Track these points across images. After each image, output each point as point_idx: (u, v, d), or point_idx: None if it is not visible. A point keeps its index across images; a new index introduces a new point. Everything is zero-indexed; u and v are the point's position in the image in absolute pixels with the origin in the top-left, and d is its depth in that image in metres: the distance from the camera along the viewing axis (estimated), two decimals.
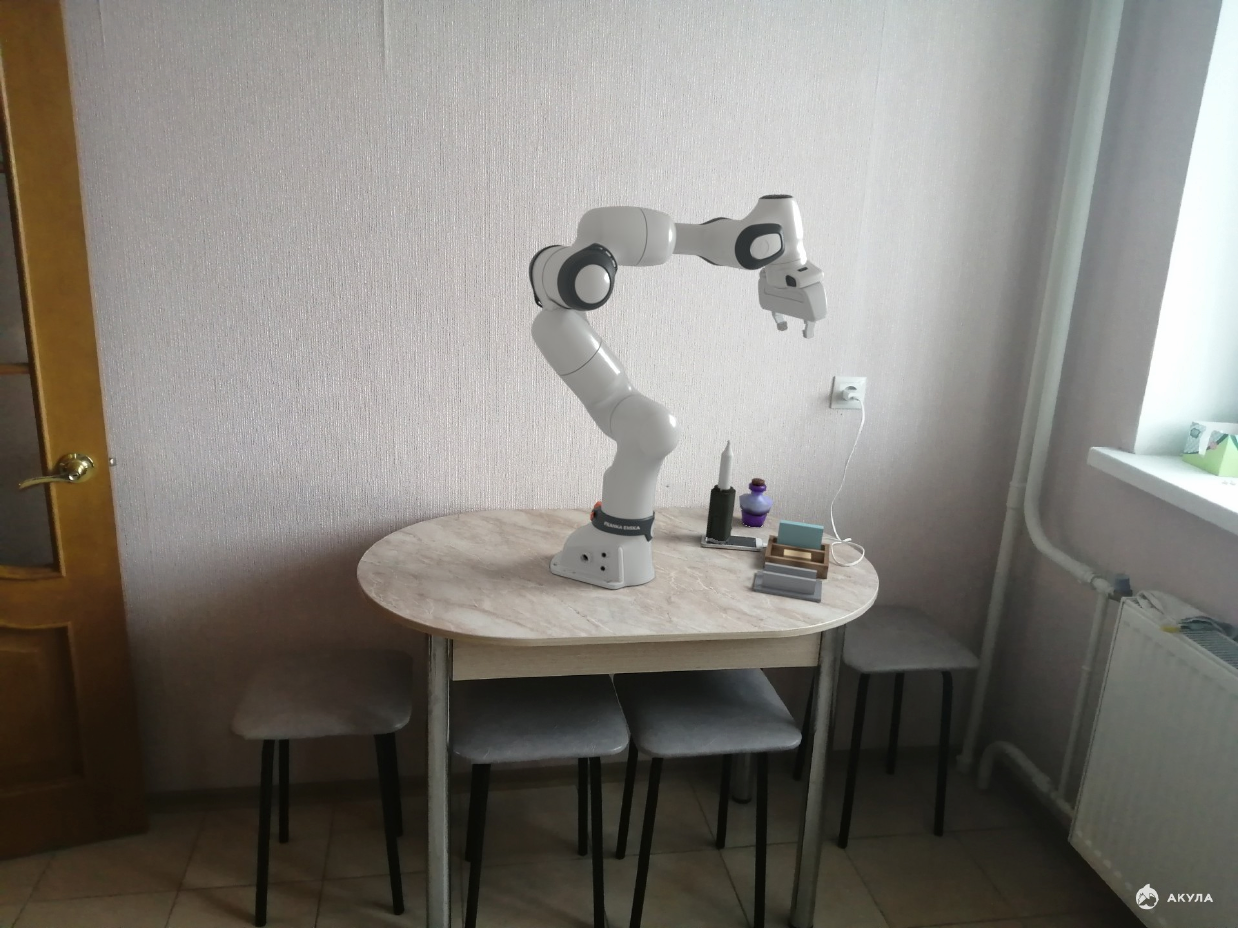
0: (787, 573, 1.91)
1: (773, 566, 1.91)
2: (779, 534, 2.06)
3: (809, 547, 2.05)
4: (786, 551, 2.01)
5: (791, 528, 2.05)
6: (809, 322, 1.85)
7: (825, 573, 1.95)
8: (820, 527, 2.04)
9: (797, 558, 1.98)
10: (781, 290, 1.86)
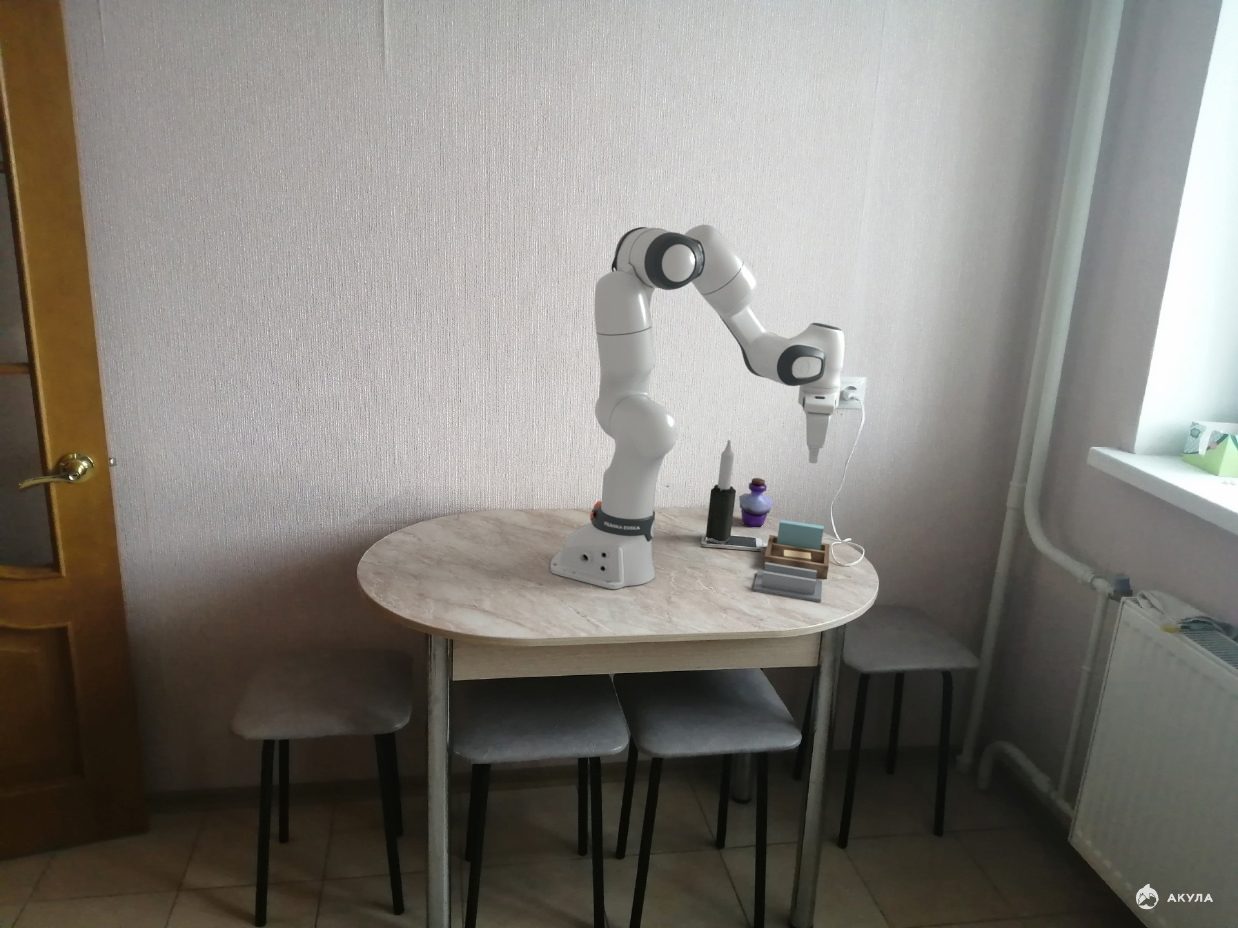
0: (787, 573, 1.91)
1: (773, 566, 1.91)
2: (779, 534, 2.06)
3: (809, 547, 2.05)
4: (786, 551, 2.01)
5: (791, 528, 2.05)
6: (812, 447, 1.93)
7: (825, 573, 1.95)
8: (820, 527, 2.04)
9: (797, 558, 1.98)
10: None
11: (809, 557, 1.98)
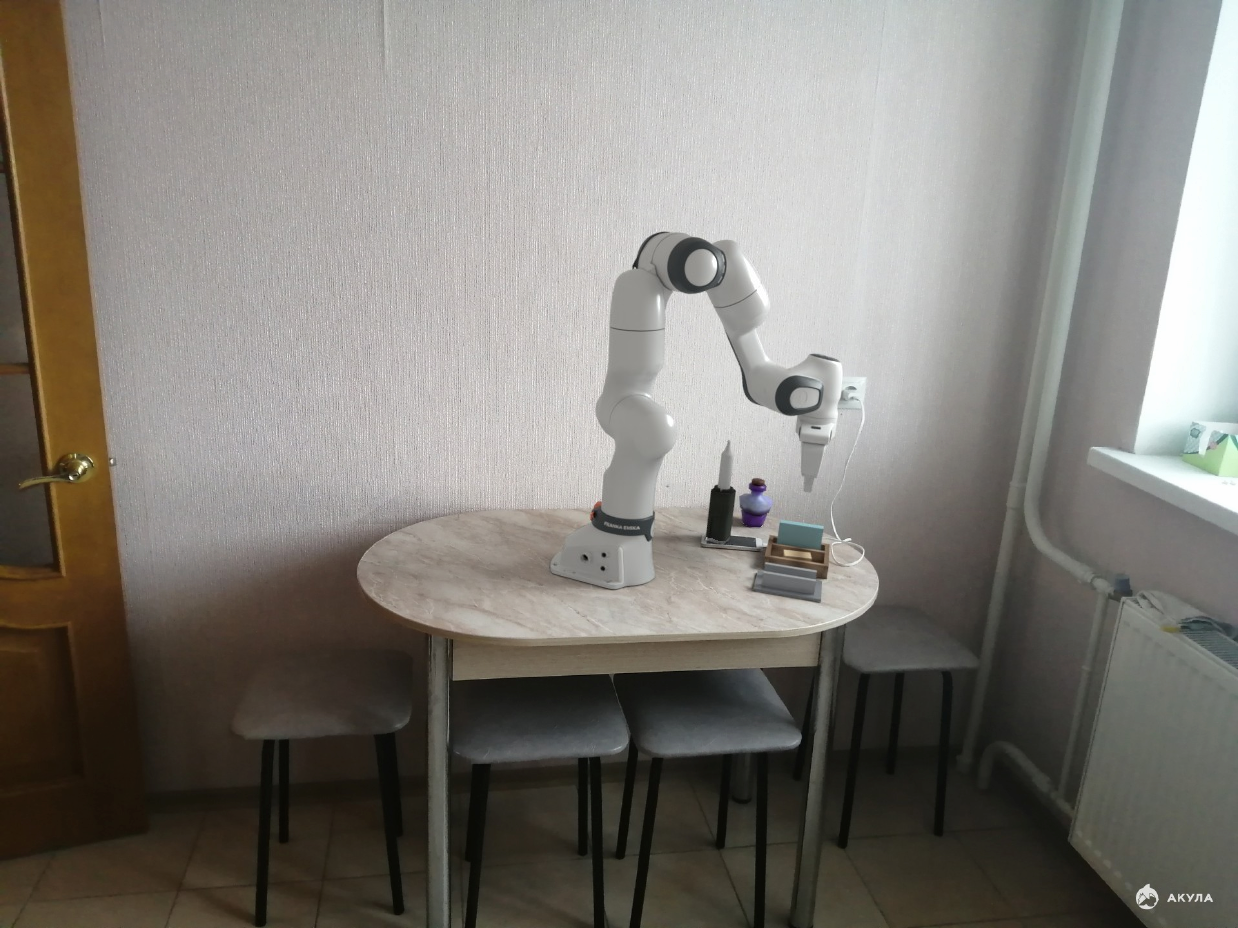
0: (787, 573, 1.91)
1: (773, 566, 1.91)
2: (779, 534, 2.06)
3: (809, 547, 2.05)
4: (786, 551, 2.01)
5: (791, 528, 2.05)
6: (806, 476, 1.95)
7: (825, 573, 1.95)
8: (820, 527, 2.04)
9: (798, 558, 1.98)
10: None
11: (809, 557, 1.99)
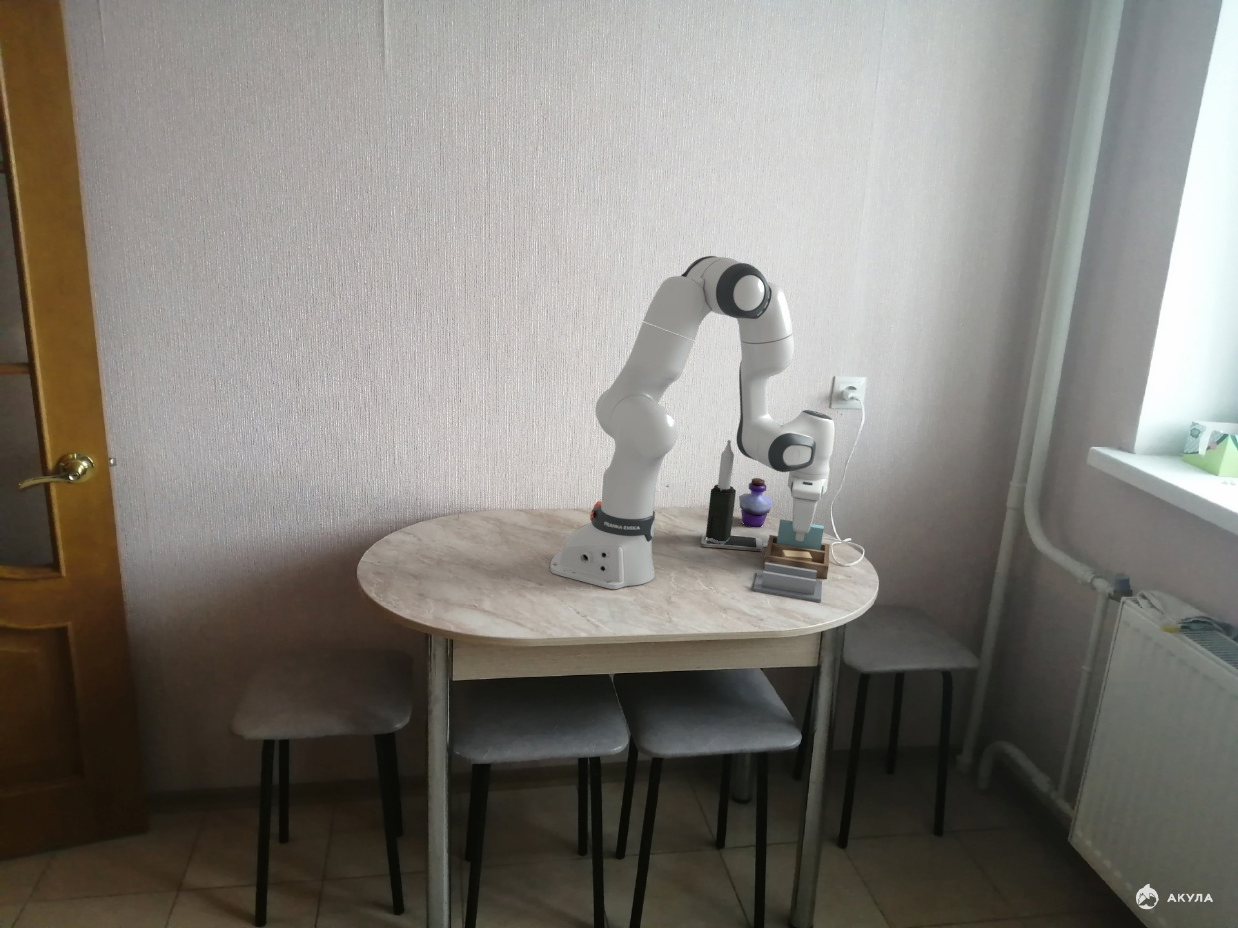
0: (787, 573, 1.91)
1: (773, 566, 1.91)
2: (779, 534, 2.06)
3: (809, 547, 2.05)
4: (785, 552, 2.00)
5: (791, 528, 2.05)
6: None
7: (825, 573, 1.95)
8: (820, 527, 2.04)
9: (798, 558, 1.98)
10: None
11: (809, 556, 1.99)
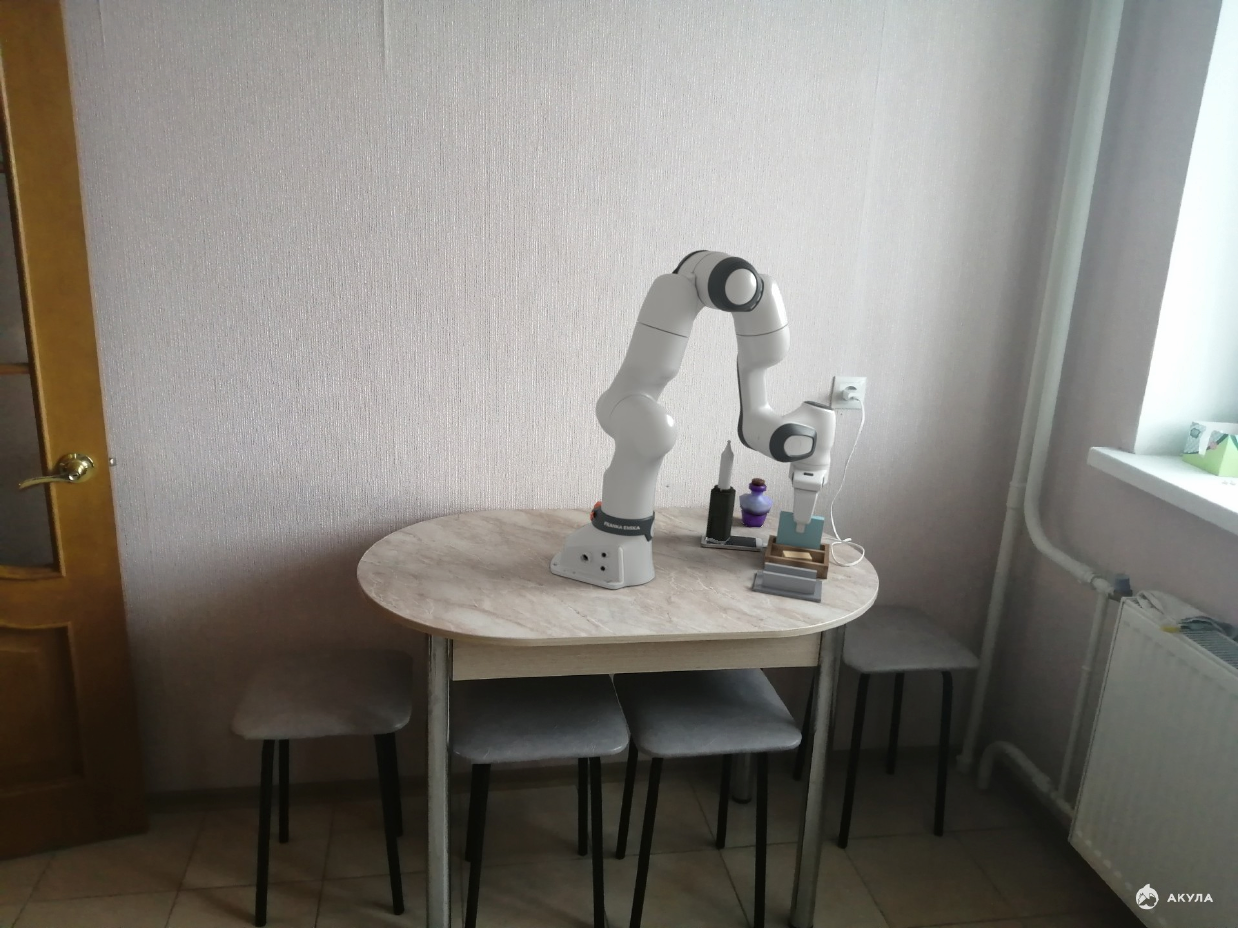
0: (787, 573, 1.91)
1: (773, 566, 1.91)
2: (780, 525, 2.05)
3: (809, 538, 2.04)
4: (785, 552, 2.00)
5: (792, 519, 2.04)
6: None
7: (825, 573, 1.95)
8: (821, 518, 2.03)
9: (798, 559, 1.98)
10: None
11: (809, 557, 1.99)
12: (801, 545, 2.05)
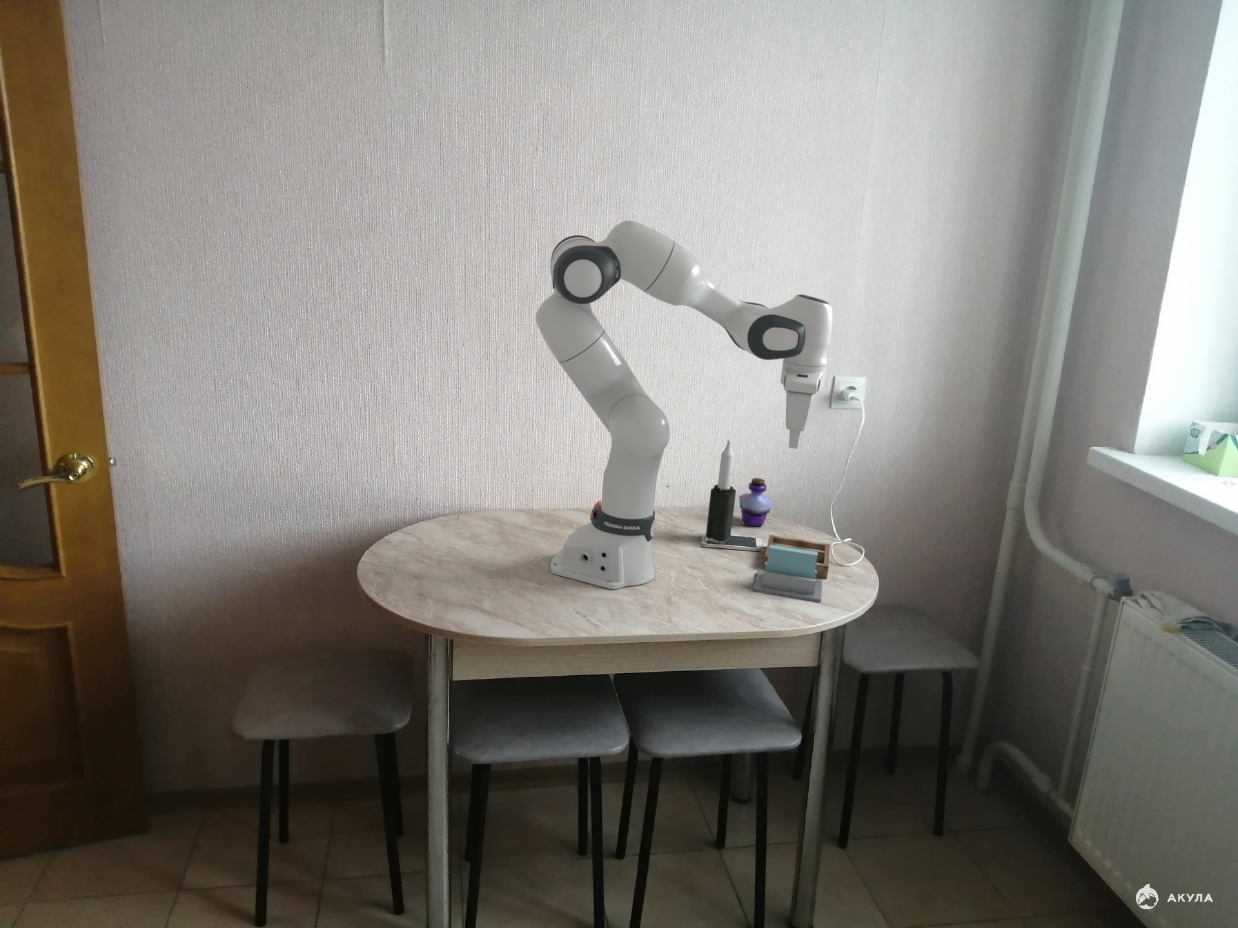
0: None
1: None
2: (769, 561, 1.88)
3: (802, 575, 1.87)
4: None
5: (782, 554, 1.87)
6: (792, 430, 1.77)
7: (825, 573, 1.95)
8: (814, 553, 1.86)
9: None
10: None
11: None
12: None
